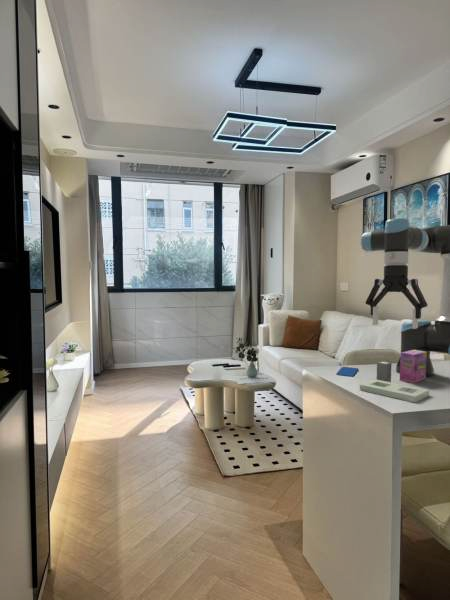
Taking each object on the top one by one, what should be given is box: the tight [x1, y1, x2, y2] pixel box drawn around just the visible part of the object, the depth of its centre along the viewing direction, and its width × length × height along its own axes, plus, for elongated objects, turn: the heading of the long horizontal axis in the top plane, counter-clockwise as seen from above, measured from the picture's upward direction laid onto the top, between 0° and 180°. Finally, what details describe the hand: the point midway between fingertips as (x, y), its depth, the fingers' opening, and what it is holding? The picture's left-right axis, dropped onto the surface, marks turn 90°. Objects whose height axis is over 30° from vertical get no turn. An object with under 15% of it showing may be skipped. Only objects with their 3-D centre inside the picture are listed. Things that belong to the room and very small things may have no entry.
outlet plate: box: [359, 378, 430, 403], centre depth 142 cm, size 12×20×2 cm, turn 42°
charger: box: [376, 361, 392, 382], centre depth 156 cm, size 4×4×8 cm
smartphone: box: [335, 366, 359, 378], centre depth 174 cm, size 7×1×15 cm
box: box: [399, 350, 427, 384], centre depth 160 cm, size 10×6×12 cm, turn 126°
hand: (394, 326), depth 135 cm, fingers open, 13 cm apart
